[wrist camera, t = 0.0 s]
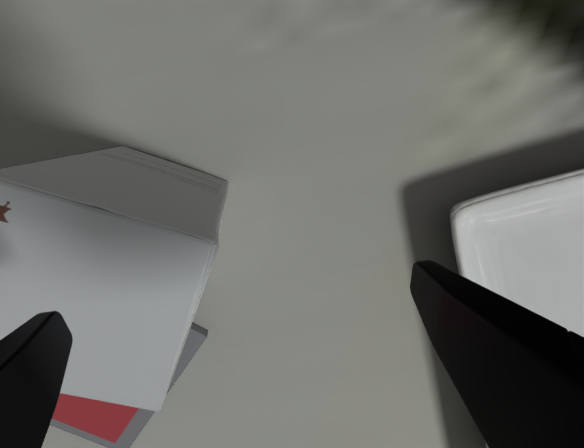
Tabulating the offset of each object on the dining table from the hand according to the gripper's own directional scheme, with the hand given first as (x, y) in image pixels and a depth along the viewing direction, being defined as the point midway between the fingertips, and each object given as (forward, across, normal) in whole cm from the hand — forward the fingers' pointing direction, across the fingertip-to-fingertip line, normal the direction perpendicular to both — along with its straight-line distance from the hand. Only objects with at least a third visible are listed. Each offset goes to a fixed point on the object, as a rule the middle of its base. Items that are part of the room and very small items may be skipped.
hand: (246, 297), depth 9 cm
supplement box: (+15, +6, +5) cm, 17 cm away
